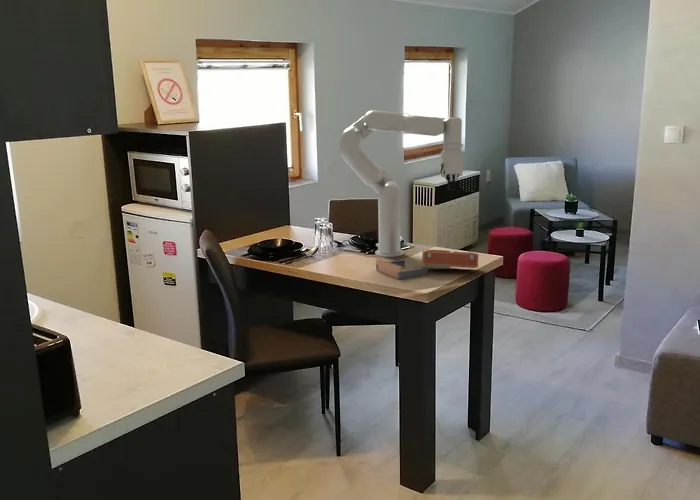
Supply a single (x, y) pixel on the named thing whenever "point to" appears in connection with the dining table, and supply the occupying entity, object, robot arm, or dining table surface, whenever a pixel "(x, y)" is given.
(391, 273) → the docking guide
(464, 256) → the control panel
